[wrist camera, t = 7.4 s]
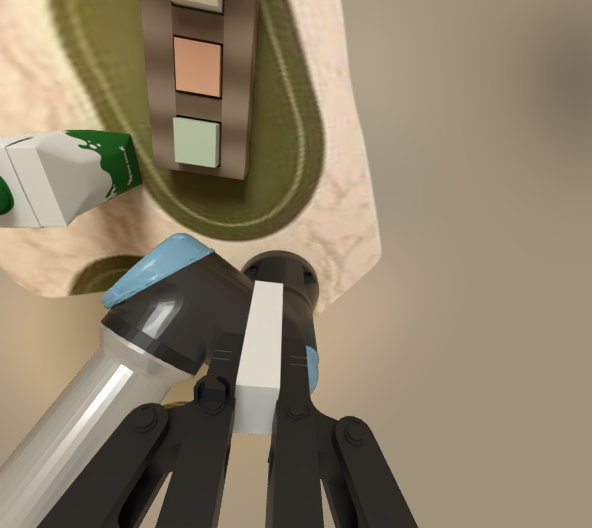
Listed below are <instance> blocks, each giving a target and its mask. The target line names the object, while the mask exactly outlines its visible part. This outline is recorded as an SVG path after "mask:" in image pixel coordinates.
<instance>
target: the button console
mask: <svg viewBox="0 0 592 528" xmlns="http://www.w3.org/2000/svg"><path fill="white" fill-rule="evenodd" d="M140 5H141V16H142V28H143V40H144V52H145V63H146V75H147V87H148V99H149V110H150V122H151V134H152V146H153V157H154V167H158V168H165V169H172V170H179V171H186V172H193V173H200V174H206V175H213V176H220V177H227V178H234V179H241V180H244V179H245V177H246V176H247V174H248V171H249V156H250V142H251V127H252V112H253V97H254V83H255V68H256V53H257V38H258V23H259V9H260V0H224V16H221V15H216V14H211V13H206V12H201V11H196V10H191V9H186V8H181V7H178V6H177V5H176V4H175V3H174V2H172V1H171V0H140ZM174 37H177V38H182V39H188V40H193V41H198V42H204V43H209V44H214V45H220V46H221V47H222V48H223V89H222V97H217V96H211V95H206V94H200V93H194V92H188V91H182V90H176V72H175V49H174ZM179 117H185V118H191V119H197V120H203V121H209V122H215V123H222V134H221V163H220V164H219V165H218V166H217V167H215V168H214V167H207V166H200V165H194V164H187V163H180V162H175V147H174V127H173V118H179Z"/></svg>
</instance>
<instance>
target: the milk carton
mask: <svg viewBox="0 0 592 528" xmlns="http://www.w3.org/2000/svg"><path fill="white" fill-rule="evenodd" d="M139 184H142V180H141V176H140V172H139V168H138V164H137V160H136V156H135V152H134V148H133V144H132V140H131V136H130V134H122V133H113V132H105V131H96V130H64V131H53V132H43V133H33V134H24V135H15V136H8V137H2V138H0V227H3V228H44V227H67V226H68V225H69V224H70V223H71V222H72V221H73V220H74V219H75V218H76V217H77V216H78V215H80V214H82V213H84V212H86V211H88V210H90V209H92V208H94V207H96V206H98V205H100V204H102V203H104V202H106V201H108V200H110V199H111V198H113V197H115V196H117V195H119V194H121V193H123V192H125V191H127V190H129V189H131V188H133V187H135V186H137V185H139Z"/></svg>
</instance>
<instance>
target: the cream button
mask: <svg viewBox="0 0 592 528" xmlns="http://www.w3.org/2000/svg"><path fill="white" fill-rule="evenodd" d="M171 1H172V2H174V3H175V4H176V5H177V6H178V7H181V8H186V9H191V10H196V11H201V12H206V13H211V14H216V15H221V16H224V0H171Z"/></svg>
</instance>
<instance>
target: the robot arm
mask: <svg viewBox="0 0 592 528" xmlns="http://www.w3.org/2000/svg"><path fill="white" fill-rule="evenodd" d="M318 296H319V285H318V279H317V275H316V273H315V271H314V269H313V267H312V266H311V265H310V264H309V263H308V262H307V261H306V260H305V259H303V258H302V257H300V256H298V255H296V254H294V253H291V252H287V251H268V252H264V253H261V254H259V255H257V256H255V257H253V258H252V259H250V260H249V261H248V262H247V263H246V264H245V265H244V267H243V268H242V270H241V272H240V271H239V270H237V269H236V268H235V267H233V266H232V265H231V264H230V263H228V262H227V261H226V260H224V259H223V258H222V257H220V256H219V255H218V254H216V253H215V250H214V249H212V248H211V249H210V248H208V247H207V246H205V245H204V244H203V243H201V242H200V241H198V240H197V239H195V238H194V237H192V236H191V235H188V234H185V233H178V234H174V235H172V236H170V237H169V238H167V239H166V240H165V241H163V242H162V243H161V244H159V245H158V246H157V247H156V248H154V249H153V250H152V251H151V252H150V253H148V254H147V255H146V256H145V257H144V258H143V259H141V260H140V261H139V262H138V263H137V264H136V265H135V266H133V267H132V268H131V269H130V270H129V271H128V272H127V273H126V274H125V275H124V276H123V277H121V278H120V279H119V281H118V282H116V283H115V284H114V286H113V287H112V288H110V289H109V290H108V291H107V292H106V293H105V294H104V295H103V296H102V298H101V301H102V303H103V304H104V307H105V308H107V309H109V308H111V310H110V311H109V312H108V313H107V315H106V316H105V317H104V318H103V319H102V320H101V322H100V323H99V324H98V326H99V333H100V346H99V348H98V349H97V350H96V352H95V353H94V354H93V355H92V356H91V358H90V359H89V360H88V361H87V363H86V364H85V365H84V366H83V367H82V369H81V370H80V371H79V372H78V373H77V375H76V376H75V377H74V378H73V380H72V381H71V382H70V383H69V384H68V386H67V387H66V388H65V389H64V390H63V392H62V393H61V394H60V395H59V397H58V398H57V399H56V400H55V402H54V403H53V404H52V405H51V406H50V408H49V409H48V410H47V411H46V412H45V414H44V415H43V416H42V417H41V419H40V420H39V421H38V422H37V423H36V424H35V426H34V427H33V428H32V430H31V431H30V432H29V433H28V435H26V437H25V438H24V439H23V440H22V442H21V443H20V444H19V445H18V446H17V448H16V449H15V450H14V451H13V452H12V454H11V455H10V456H9V458H8V459H7V460H6V461H5V462H4V464H3V465H2V466H1V467H0V528H139V526H140V524H141V523H142V521H143V519H144V517H145V515H146V514H147V512H148V510H149V508H150V506H151V505H152V503H153V501H154V499H155V497H156V496H157V494H158V492H159V490H160V488H161V486H162V485H163V483H164V481H165V479H166V478H167V476H168V474H169V473H170V472H173V473H172V476H171V479H170V482H169V485H168V489H167V492H166V495H165V498H164V501H163V505H162V508H161V511H160V514H159V517H158V521H157V524H156V527H155V528H217V526H218V520H219V514H220V508H221V502H222V496H223V489H224V484H225V478H226V472H227V466H228V460H229V454H230V446H231V437H232V433H248V434H263V435H271V434H272V436H271V437H272V438H271V447H270V452H269V458H268V463H269V471H268V489H267V506H266V523H265V528H324V521H323V510H322V497H321V485H320V479H322V483H323V486H324V490H325V493H326V496H327V500H328V503H329V506H330V510H331V514H332V517H333V520H334V524H335V527H336V528H418V526H417V524H416V522H415V520H414V518H413V516H412V514H411V512H410V509H409V508H408V505H407V503H406V501H405V499H404V497H403V495H402V493H401V491H400V489H399V487H398V485H397V483H396V480H395V478H394V476H393V474H392V472H391V470H390V468H389V466H388V464H387V462H386V460H385V458H384V456H383V454H382V452H381V450H380V447H379V445H378V443H377V441H376V439H375V437H374V435H373V433H372V431H371V430H370V428H369V427H368V425H367V424H366V423H364V422H363V421H362V420H361V419H359V418H356V417H354V416H346V417H343V418H341V419H340V420H339V421H338V420H335V419H333V418H331V417H328V416H326V415H324V414H322V413H321V412H319V411H318V410H317V409H316V408H315V406H314V405H313V403H312V401H311V398H310V395H311V394H312V392H313V391H314V389H315V387H316V385H317V382H318V362H319V356H318V353H317V346H316V338H315V331H314V324H313V316H312V313H313V310H314V308H315V305H316V303H317V300H318ZM203 363H205V364H207V365H209V369H208V372H207V375H206V376H203V377H202V378H201V379H200V380H198V381H197V383H196V385H195V386H194V400H193V401H191V402H189V403H187V404H185V405H182V406H179V407H174V408H170V409H165V407H164V406H162V405H160V403H161V401H162V400H163V399H164V397H165V396H166V394H167V392H168V391H169V390H170V388H171V387H172V386H173V385H175V384H177V383H180V382H183V381H186V380H189V379H192V378H194V376H195V375H196V374H197V372H198V370H199V369H200V367H201V366H202V364H203Z"/></svg>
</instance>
